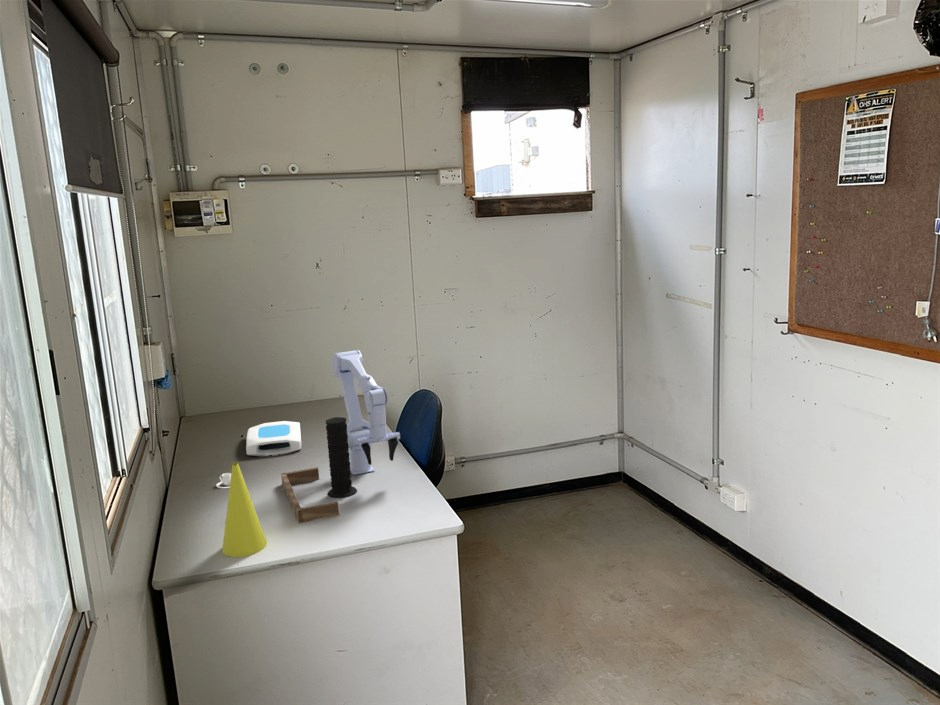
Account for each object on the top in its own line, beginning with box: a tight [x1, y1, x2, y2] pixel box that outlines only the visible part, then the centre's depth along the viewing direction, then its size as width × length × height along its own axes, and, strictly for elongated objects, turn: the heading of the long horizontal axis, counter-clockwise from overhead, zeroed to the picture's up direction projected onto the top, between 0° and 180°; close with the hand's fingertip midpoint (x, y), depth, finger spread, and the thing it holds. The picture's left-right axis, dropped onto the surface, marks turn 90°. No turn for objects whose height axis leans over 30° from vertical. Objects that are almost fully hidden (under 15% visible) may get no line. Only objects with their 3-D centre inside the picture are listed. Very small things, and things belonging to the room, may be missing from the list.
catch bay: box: [280, 466, 340, 524], centre depth 238 cm, size 36×13×4 cm, turn 22°
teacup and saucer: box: [215, 472, 231, 489], centre depth 255 cm, size 9×8×4 cm
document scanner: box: [245, 420, 302, 457], centre depth 297 cm, size 21×28×6 cm
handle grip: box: [325, 416, 358, 499], centre depth 240 cm, size 10×26×10 cm
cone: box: [221, 461, 268, 558], centre depth 203 cm, size 12×12×25 cm
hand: (380, 461), depth 246 cm, fingers open, 7 cm apart
